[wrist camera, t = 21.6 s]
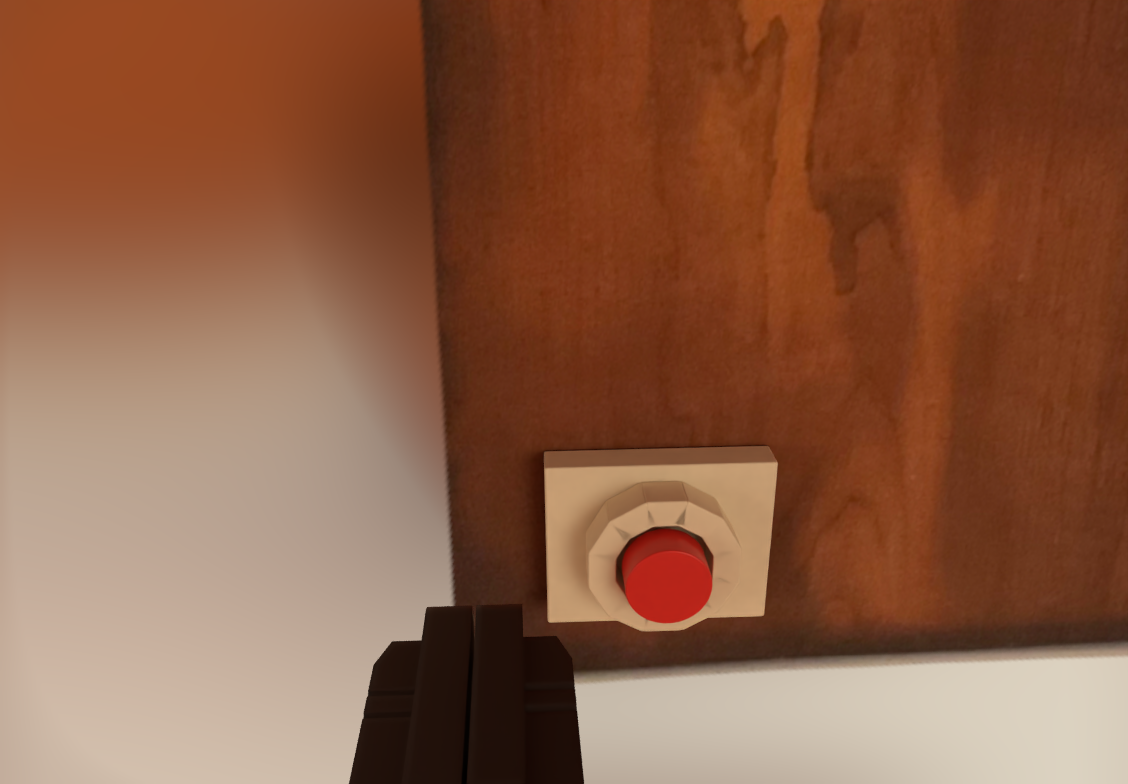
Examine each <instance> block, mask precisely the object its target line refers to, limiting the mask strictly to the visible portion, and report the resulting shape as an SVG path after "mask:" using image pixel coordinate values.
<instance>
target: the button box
mask: <svg viewBox="0 0 1128 784" xmlns="http://www.w3.org/2000/svg"><path fill="white" fill-rule="evenodd" d="M777 467H778V463H777V461H776V459H775V457H774V455H773V453H772V452H771V450H770V448H769V446H739V447H699V448H660V449H620V450H580V451H546V452H544V481H545V524H546V566H547V609H548V622H581V621H614V620H617V621H620V622H622V623H624V624H626V625H629V626H631V627H633V628H635V629H638V630H640V631H672V630H681V629H682V630H684V629H686V628H688V627H690V626H692V625H694V624H696V623H698V622H700V621H702V620H704V619H706V618H714V617H747V616H763V615H764V609H765V598H766V587H767V576H768V565H769V554H770V543H771V533H772V522H773V511H774V500H775V489H776V478H777ZM657 529H675V530H679V531H682V532H685V533H687V534H688V535H690V536H692V537H693V538H694V539H695V540H696V541H697V542H698V543H699V544H700V545H701V547H702V549H703V551H704V554H705V557H706V560H707V563H708V566H709V570H710V573H711V576H712V582H713V586H712V592H711V595H710V597H709V600H708V601H707V603H706V605H705V606H704V607H703V608H702V609H701V610H700V611H699V612H698V613H696V614H695V615H694V616H692V617H690V618H688V619H686V620H683V621H680V622H676V623H657V622H653V621H650V620H647V619H645V618H643V617H641V616H640V615H639V614H637V613H636V612H635V611H634V610H633V609H632V607H631V606H630V604H629V603H628V600H627V598H626V593H625V587H624V581H623V575H622V560H623V556H624V554H625V552H626V550H627V548H628V547H629V546H630V544H631V543H632V542H633V541H634V540H635V539H637V538H638V537H640V536H641V535H643V534H645V533H647V532H650V531H653V530H657Z"/></svg>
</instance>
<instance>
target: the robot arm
mask: <svg viewBox="0 0 1128 784" xmlns="http://www.w3.org/2000/svg"><path fill="white" fill-rule="evenodd" d="M349 784H584V778H583V768H582V758H581V747H580V737H579V727H578V716H577V707H576V696H575V687H574V674H573V664H572V658H571V656H570V655H569V653H568V652H567V650H566V649H565V648H564V646H563V645H562V643H561V642H560V641H559V639H558V638H557V636H543V637H523V618H522V604H506V605H477V608H476V624H475V625H474V608H473V606H447V607H446V606H445V607H427V609H426V613H425V621H424V628H423V635H422V641H394V642H391V644H390V645H389V646H388V648H387V649H386V650H385V651H384V653H383V654H382V655H381V656H380V658H379V659H378V660H377V661H376V663H375V664H374V666H373V671H372V675H371V680H370V685H369V690H368V697H367V700H366V704H365V709H364V718H363V720H362V724H361V728H360V733H359V738H358V743H357V748H356V753H355V758H354V762H353V767H352V772H351V777H350V781H349Z"/></svg>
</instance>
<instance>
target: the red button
mask: <svg viewBox="0 0 1128 784" xmlns="http://www.w3.org/2000/svg"><path fill="white" fill-rule="evenodd" d="M622 575H623V581H624V587H625V593H626V598H627V600H628V603H629V604H630V606H631V607H632V609H633V610H634V611H635V612H636V613H637V614H639V615H640V616H641V617H643V618H645V619H647V620H650V621H653V622H657V623H676V622H680V621H683V620H686V619H688V618H690V617H692V616H694V615H695V614H696V613H698V612H699V611H700V610H701V609H702V608H703V607H704V606H705V605H706V603H707V601H708V600H709V597H710V595H711V592H712V586H713V582H712V576H711V573H710V570H709V566H708V563H707V560H706V557H705V554H704V551H703V549H702V547H701V545H700V544H699V543H698V542H697V541H696V540H695V539H694V538H693V537H692V536H690V535H688V534H687V533H685V532H682V531H679V530H675V529H657V530H653V531H650V532H647V533H645V534H643V535H641V536H640V537H638V538H637V539H635V540H634V541H633V542H632V543H631V544H630V546H629V547H628V548H627V550H626V552H625V554H624V556H623V560H622Z"/></svg>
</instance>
